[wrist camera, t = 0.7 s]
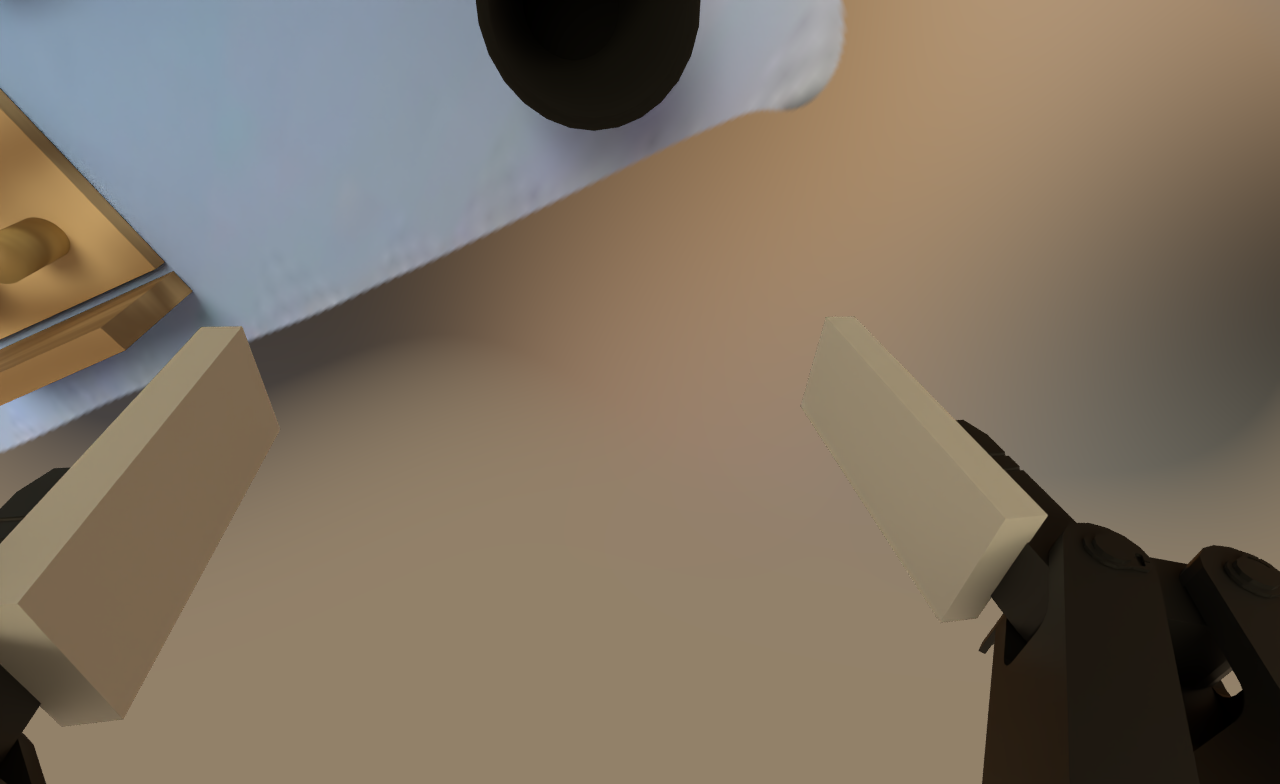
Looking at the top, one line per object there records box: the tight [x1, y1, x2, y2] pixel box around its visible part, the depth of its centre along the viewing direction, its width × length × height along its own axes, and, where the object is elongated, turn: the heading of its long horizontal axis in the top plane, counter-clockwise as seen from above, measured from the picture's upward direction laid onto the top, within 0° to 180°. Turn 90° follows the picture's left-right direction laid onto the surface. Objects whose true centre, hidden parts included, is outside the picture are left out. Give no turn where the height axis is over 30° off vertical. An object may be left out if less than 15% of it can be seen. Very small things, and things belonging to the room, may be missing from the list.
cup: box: [476, 0, 700, 131], centre depth 24 cm, size 8×8×12 cm
